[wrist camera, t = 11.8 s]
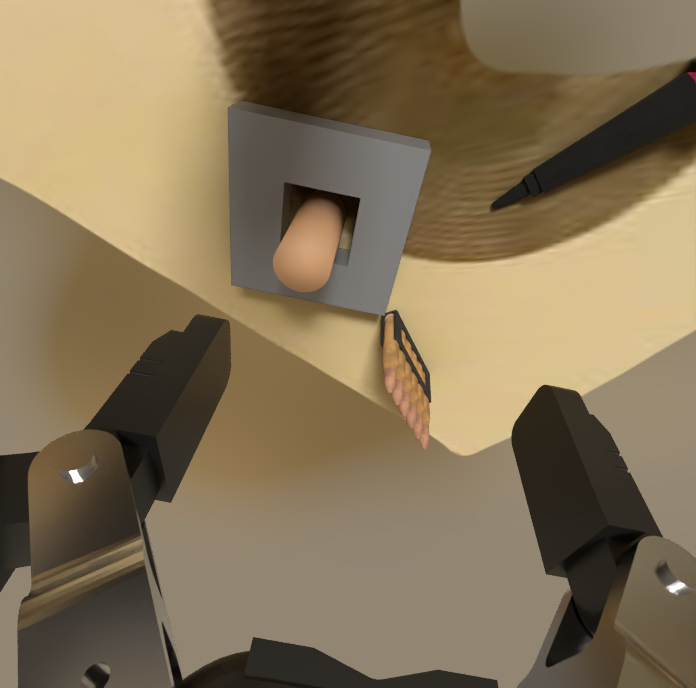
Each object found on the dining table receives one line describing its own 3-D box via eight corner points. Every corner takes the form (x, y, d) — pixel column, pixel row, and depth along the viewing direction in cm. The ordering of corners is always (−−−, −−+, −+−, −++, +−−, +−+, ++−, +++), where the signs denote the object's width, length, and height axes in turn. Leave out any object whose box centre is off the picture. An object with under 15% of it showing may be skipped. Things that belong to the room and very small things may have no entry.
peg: (303, 185, 37) (274, 234, 28) (349, 195, 37) (334, 246, 29) (298, 230, 40) (271, 286, 31) (341, 238, 40) (326, 297, 31)
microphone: (499, 204, 39) (768, 55, 29) (512, 245, 36) (819, 96, 26) (475, 166, 36) (772, -21, 25) (487, 208, 33) (832, 15, 22)
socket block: (241, 100, 33) (227, 107, 30) (428, 140, 34) (431, 150, 31) (241, 268, 43) (231, 285, 41) (385, 297, 44) (384, 315, 41)
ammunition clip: (381, 314, 45) (375, 389, 36) (396, 308, 45) (394, 383, 35) (415, 378, 51) (419, 457, 41) (429, 374, 50) (436, 453, 41)
